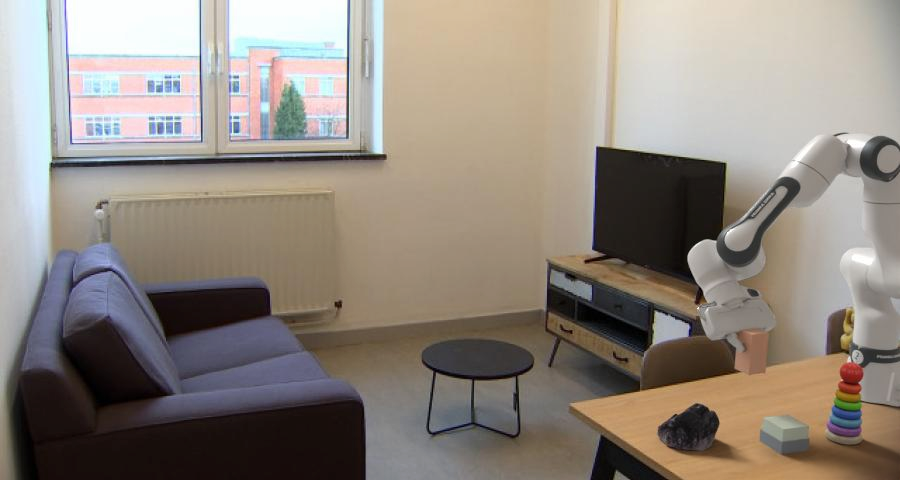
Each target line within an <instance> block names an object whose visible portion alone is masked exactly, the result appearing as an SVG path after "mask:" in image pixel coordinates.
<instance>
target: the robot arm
mask: <svg viewBox="0 0 900 480" xmlns="http://www.w3.org/2000/svg"><path fill="white" fill-rule="evenodd" d="M840 174H841V175H844V176H848V177H852V178H861V180H862V182H863V189H862V206H861V207H862V208H861V229H862V232H863V233H864V235H865V236H866V237H867V238H868V239H869V241H870V242H871V246H872V247H866V246H865V247H864V246H863V247H861V246H860V247H858V246H857V247H852V248H850V249H847V251H845V252H844V253H843V255H841V259H840V260H839V272H840V275H841V276H842V278H843V279H844V280H845V282H846V284H847V285H848V288H849V291H850V295H851V299H852V302H853V307H854V312H855V318H854V331H853V339H852V340H851V344H850V351H849V353H850V354H849V356H848V358H847V361H846V363H848V362H854V363H857V364H859V365H860V366H861V367H862V369H863V372H864V376H863V378H862V380H861V381H860V382H859V384H860V385H861V386H862V390H861V391H860V392H859V393H860V394H861V400H860V401H862V402H866V403H871V404H880V405H881V404H882V405H888V406H892V407H900V346H899V345H900V344H899V343H900V313H899V312H898V310H897V309H896V308H895V306H894V304H893V302H892V298H893V299H896V300H900V144H899V143H898V141H896V140H895V139H893V138H892V137H888V136H885V135H877V134H874V133H867V132H855V133H853V132H851V133H849V132H840V133H839V132H838V133H836V134H829V133H822V134H818V135H816V136H814V137H813V138H812V139H810V140H809V141H808V142H807V143H806V144H805V145H804V146H803V147H802V148H800V150H799V151H798V152H797V153H796V154H795V155H794V157H793V158H792V159H791V160H790V162H789V163H788V164H787V165H786V167H785V168H784V169H783V171H782V172H781V173H780V174H779V176H778V177H777V178H776V180H775V181H774V182H773V183H772V184H771V185H770V186H769V187H768V189H767V190H766V191H765V192H764V193H763V194H761V196H760V197H759V198H758V200H756V202H755V203H754V204H753V205H752V206H751V207H750V208H749V209H748V210H747V212H745V214H744V215H743V216H742V217H741V218H739V219H737V220H736V221H734V222H732V223H731V224H729V225H727V226H726V227H725V228H724V229H722V231H721V232H720V233H719V235H718V236H717V238H716V240H712V239H708V238H707V239H703V240H701V241H699V242H698V243H695V244H694V245H693V246H692V247H691V248H690V250H689V252H688V254H687V263H688V268H689V269H690V271H691V274H692V276H693V278H694V280H695V282H696V284H697V285H698V286H699V287H700V288H701V290H702V292H703V297H704V299H705V301H706V303H700V304H699V306H698V307H697V313H698V315H699V318H700V319H699V320H700V322H701V325H702V328H703V330H704V333H705V335H706V337H707V338H708V339H709V340H711V341H717V340H723V339H724V340H725V339H726V340H727V342H728V343H729V344H731V345H732V346H733V347H734V348H735V350H736V349H737V351H738V352H739V353H743V352H745V351H747V347H746V345H745V343H741V342H740V341H739V340H738V339H737V333H738V332H740V331H741V330H744V329H751V328H759V329H761V330H764V331H766V332H769V331H771V330H772V329H774V328H775V327H776V326H777V319H776V317H775V315H774V313H773V312H772V309H771V308H770V307H769V305H768V303H767V302H766V301H765V300H763V299H762V297H763V295H762V293H761V291H760V290H759V289H757V288H751V287H747V286H744V285H740V283H739V282H741V281H744V280H749V279H750V278H753V277H756V276H758V275H759V274H760V273H762V271H763V270H764V269H765V267H766V266H767V265H766V264H767V255H766V252H765V250H764V248H763V246H762V245H763V244H762V243H763V238H764V236H765V235H766V233H767V231H768V230H769V229H770V228H771V227H772V226H773V225H774V224H775V222H777V220H778V219H780V217H781V215H783V213H784V212H786V211H787V210H788V209H791V208H799V209H801V208H802V209H803V208H808V207H811V206H812V205H813V204H814V203H815V202H817V201H818V200H819V199H820V198H821V197H822V196H823V195H824V194H825V192H827V190H828V189H829V187H831V185H832V183H833V182H834V181H835V179H836V177H838V175H840ZM840 381H843V380H842V379H841V380H840Z"/></svg>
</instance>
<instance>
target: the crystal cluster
mask: <svg viewBox="0 0 900 480" xmlns="http://www.w3.org/2000/svg"><path fill="white" fill-rule="evenodd" d="M720 423H721V422H720V419H719V416H718V414H717V413H716V411H714V410H710V408H709V407H708V406H706V405H704V404H703V403H702V404H701V403H699V402H695V403H693V404H692V405H690V406H689V407H688V408H686V409H684V411H682V412H681V413H679V414H677V413H675V414H673V415H672V416H671V417H669V418H668V419H667V420H665V421H664V422H662V423H661V424H660V425H658V427H657V433H656V435H657V436H658V437H659V439H660V440H661V442H662V443H663V444H665V445H666V446H668V447H672V448H675V449H678V450H679V449H680V450H687V451H701V452H702V451H706V449H707V450H708V449H710V448H711V446H712V445H713V443H714V441H715V439H716V434H717V432H718V430H719V427H720V425H721V424H720Z"/></svg>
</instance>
